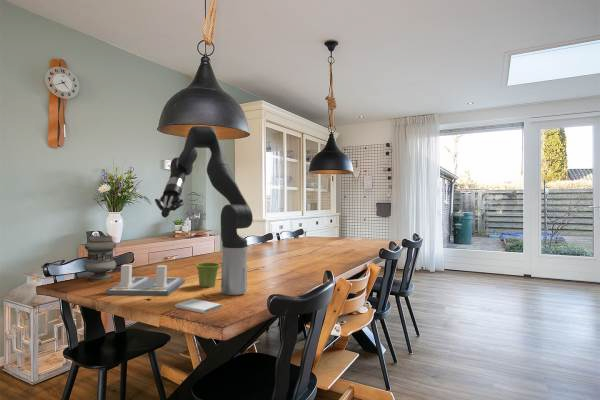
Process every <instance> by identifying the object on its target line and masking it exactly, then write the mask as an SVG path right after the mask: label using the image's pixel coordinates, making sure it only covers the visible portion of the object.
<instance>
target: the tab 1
mask: <svg viewBox="0 0 600 400" xmlns="http://www.w3.org/2000/svg"><path fill="white" fill-rule="evenodd" d="M132 278H133V265H132V264H122V265H120V283H121V284H120V283H119V284H120V285H119V287H128V286H130V285H132V284H133V282H132Z"/></svg>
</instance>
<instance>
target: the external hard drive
mask: <svg viewBox="0 0 600 400" xmlns="http://www.w3.org/2000/svg"><path fill="white" fill-rule="evenodd" d="M174 307H175V308H179V309H181V310H186V311H187V310H188V311H191V312H196V313H200V314H206V313H209V312H211V311H214V310H218V309H220V308H222V307H223V304H222V303H217V302H211V301H207V300H201V299H197V298H191V299H188V300H185V301H181V302H178V303H176V304H175V305H174Z"/></svg>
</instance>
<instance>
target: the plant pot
mask: <svg viewBox="0 0 600 400" xmlns="http://www.w3.org/2000/svg"><path fill="white" fill-rule="evenodd" d="M195 266H196V269H197V271H198V272H197V273H198V282H199V283H198V284H199V287H201V288H212V287H213V288H214V287H215V286H216V282H217V276H218V271H219V268H220V266H221V264H220V263H217V262H200V263H196V264H195Z"/></svg>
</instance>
